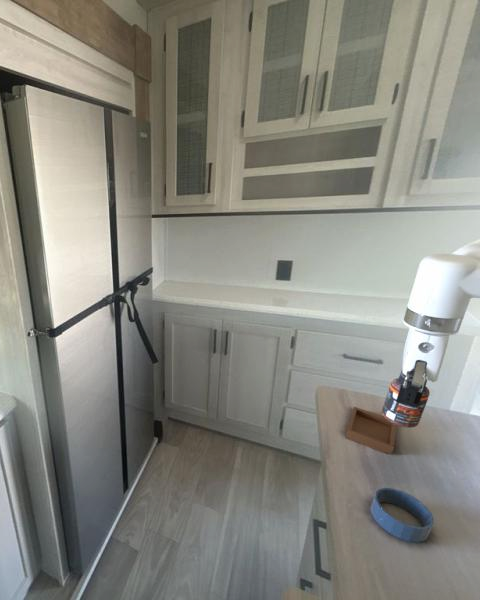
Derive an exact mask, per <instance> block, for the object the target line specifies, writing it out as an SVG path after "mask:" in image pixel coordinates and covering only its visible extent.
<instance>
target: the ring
mask: <svg viewBox="0 0 480 600" xmlns="http://www.w3.org/2000/svg"><path fill="white" fill-rule="evenodd" d="M381 503H388V504H392V505H395V506H397V507H399V508H402V509H404V510H406V511H407V512H408V513H410V514H411V515H413V516H414V517H415V518H416V519H417V520H418V521H419V523H420V524H421V525H422V526H414V525H411V524H407V523H404V522H403V521H401V520H398V519H397V518H396V517H394V516H393V515H391V514H390V513H389V512H387V511H386V510H385V508H383V506H382V505H381ZM369 510H370V513H371V516H372V517H373V518H374V520H375V522H376V523H377V524H378V525H379V526H380V527H381V528H382V529H383V530H385V531H386V532H388V533H389V534H390V535H392V536H394V537H396V538H398V539H400V540H403V541H406V542H408V543H416V544H418V543H423V542H425V541H426V540H427V539H428V537H429V535H430V533H431V531H432V529H433V526H434V524H435V518H434V516H433V514H432V512H431V510H429V508H428V507H427V506H426V505H425V504H424V503H423V502H422V501H421V500H419V499H418V498H416V497H415V496H413V495H411V494H409V493H407V492H405V491H403V490H400V489H396V488H393V487H382V488H379V489H378V490H376V491H375V493H374V496H373V499H372V502H371V505H370V508H369Z"/></svg>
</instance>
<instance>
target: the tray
mask: <svg viewBox="0 0 480 600" xmlns="http://www.w3.org/2000/svg"><path fill="white" fill-rule="evenodd" d="M397 428H398V425H396V424H393V423H391V422H390V421H388V420H387V419H386V418H385V417H384V416H383V415H382V414H377V413H376V412H375V413H374V412H372V411H368V410H365V409H362V408H360V407H357V406H353V409H352V412H351V416H350V419H349V422H348V426H347V430H346V433H345V436H344V438H345V439H347V440H350V441H353V442H356V443H357V444H361V445H363V446H366V447H367V448H368V447H369V448H372V449H374V450H376V451H379V452H382V453H384V454H387V455H393V452H394V449H395V445H396V435H397V430H398V429H397Z"/></svg>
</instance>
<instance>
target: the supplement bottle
mask: <svg viewBox="0 0 480 600" xmlns="http://www.w3.org/2000/svg"><path fill="white" fill-rule="evenodd" d="M410 373H411V374H414V372H411V371H410ZM405 376H406V375H405V374H403V372H400V374H399V376H398V377H397V378H394V379H392V380H391V382H390V384H389V387H388V390H387V393H386V396H385V398H384V399H385V400H384V403H383V406H382V409H381V416H384V417H385V418H386V419H387V420H388V421H390V422H391V423H393V424H396V425H397V427H402V428H416V427H417V426H419V423H420V421H421V419H422V416H423V413H424V410H425V408H426V405H427V403H428V400H429V398H430V389H429V387H427V383H428V378H426V380H425V384H424V387H423V394H422V397H421V400H420V403H419V406H418V407H412V406H409V405H405V404H401V403H398V402H397V401H396V400H397V396H398V393H399V390H400V387H401V385H403V383H404V379H405ZM412 379H413V378H412V377H409V381H412ZM409 381H408V382H409Z"/></svg>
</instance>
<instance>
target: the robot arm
mask: <svg viewBox="0 0 480 600" xmlns="http://www.w3.org/2000/svg"><path fill="white" fill-rule="evenodd" d="M473 298H474V299H480V238H478V239H475V240H473V241H472V242H468V243H466V244H465V245H462V246H461V247H459V248H457V249H456V250H454V251H453V252H451V253H434V254H430V255H427V256H425V257H423V258H422V259H421V260H420V262H419V265H418V268H417V270H416V275H415V279H414V282H413V285H412V289H411V292H410V296H409V299H408V302H407V306H406V309H405V313H404V317H403V319H402V323H403V324H404V326H406V327H408V332H407V336H406V339H405V343H404V348H403V353H402V368H401V372H403V374H405V375H406V376H405V379H404V383H403V385H401V387H400V390H399V393H398V396H397V400H396V401H397V402H398V403H401V404H405V405H409V406H412V407H418V406H419V403H420V400H421V397H422V394H423V387H424V384H425V380H426V379H427V381H430V382H432V383H435V382H437V381H438V378H439V376H440V371H441V368H442V366H443V365H442V364H443V362H444V358H445V356H446V352H447V348H448V345H449V340H450V336H452V335H457V334H458V333H459V331H460V328H461V325H462V322H463V320H464V317H465V314H466V312H467V311H468V306H469V304H470V302H471V299H473ZM410 371H411V372H414V374H411V373H410ZM401 372H400V373H401ZM409 377H412V378H413V379H412V381H409ZM408 381H409V382H408Z"/></svg>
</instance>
